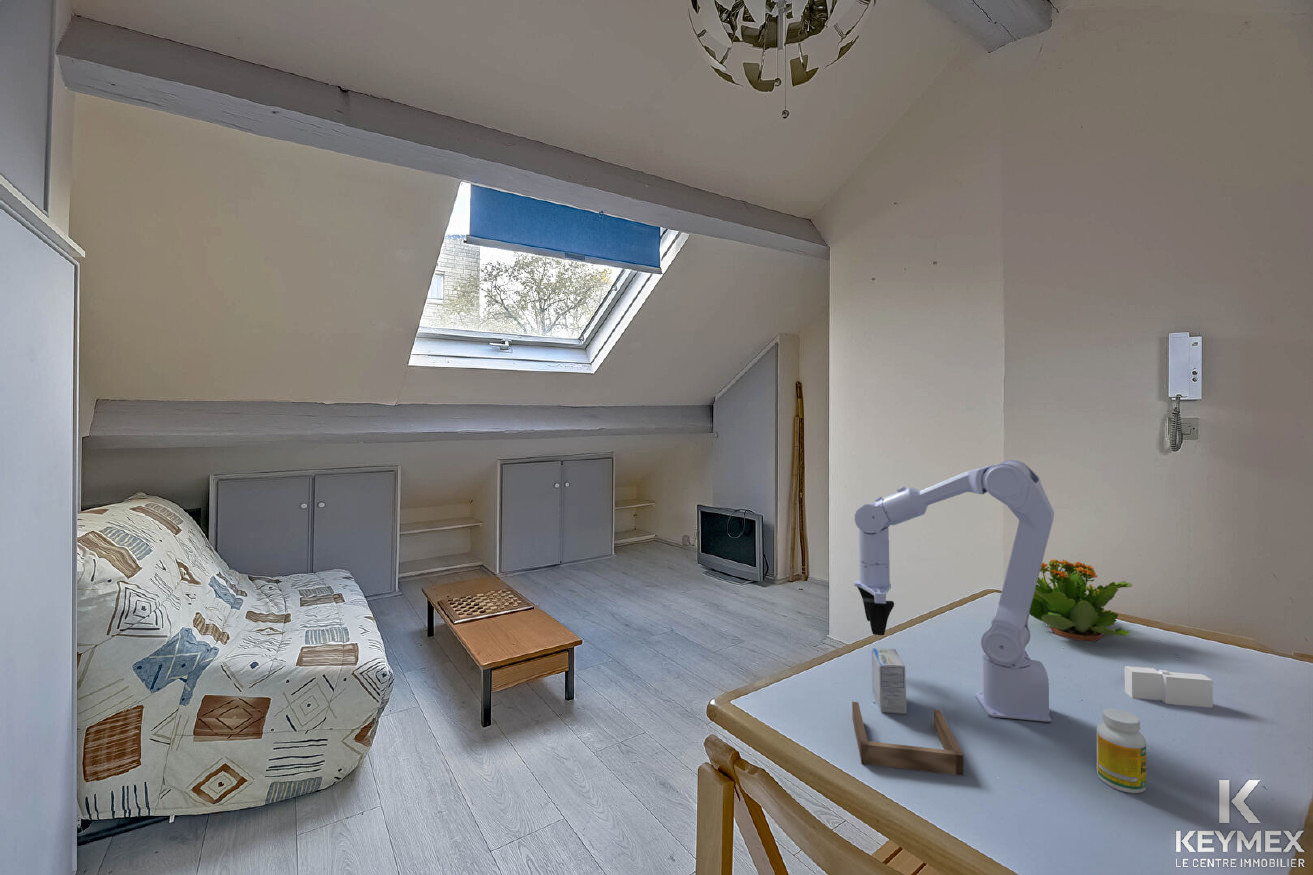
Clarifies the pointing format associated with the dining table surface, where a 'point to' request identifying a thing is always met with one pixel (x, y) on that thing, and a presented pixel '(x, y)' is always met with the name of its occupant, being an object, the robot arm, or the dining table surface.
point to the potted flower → (1075, 602)
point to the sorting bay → (911, 749)
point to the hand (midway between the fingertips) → (875, 627)
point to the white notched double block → (1169, 686)
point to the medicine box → (888, 680)
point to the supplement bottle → (1121, 751)
